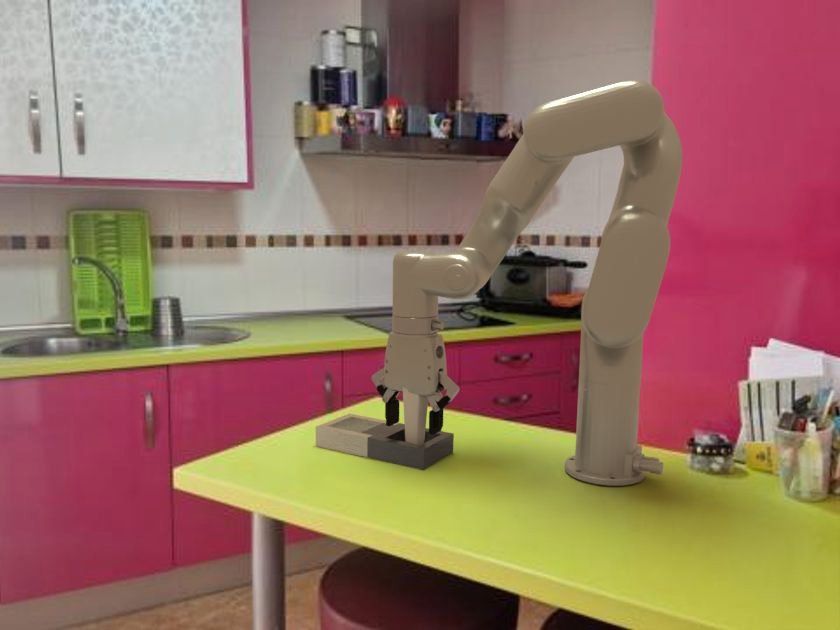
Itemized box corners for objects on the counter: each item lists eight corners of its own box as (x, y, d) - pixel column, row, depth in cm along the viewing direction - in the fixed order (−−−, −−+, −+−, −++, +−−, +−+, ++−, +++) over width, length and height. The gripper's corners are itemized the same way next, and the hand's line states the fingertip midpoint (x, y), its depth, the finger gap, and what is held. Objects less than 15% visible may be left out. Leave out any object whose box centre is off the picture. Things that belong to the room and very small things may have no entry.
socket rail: (453, 453, 133) (453, 433, 132) (423, 470, 124) (423, 449, 124) (349, 431, 144) (349, 413, 143) (315, 446, 135) (315, 426, 135)
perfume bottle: (412, 449, 134) (413, 365, 132) (431, 455, 131) (433, 369, 129) (394, 456, 131) (395, 369, 128) (414, 462, 128) (415, 374, 126)
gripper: (472, 327, 126) (469, 431, 129) (383, 318, 135) (383, 415, 138) (450, 334, 120) (448, 443, 123) (358, 323, 129) (358, 425, 131)
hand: (413, 427), depth 130 cm, fingers open, 7 cm apart
